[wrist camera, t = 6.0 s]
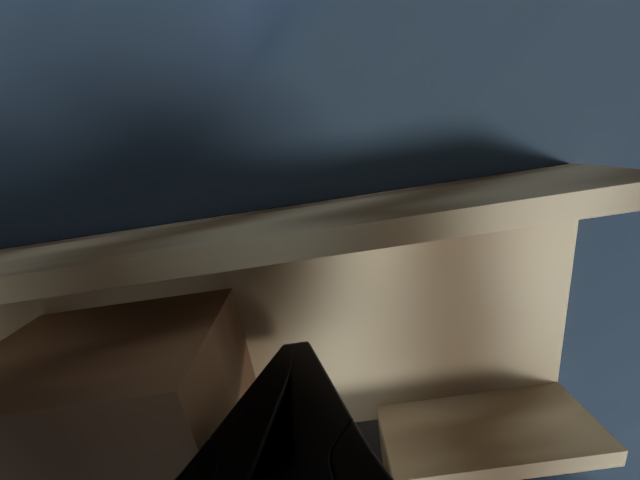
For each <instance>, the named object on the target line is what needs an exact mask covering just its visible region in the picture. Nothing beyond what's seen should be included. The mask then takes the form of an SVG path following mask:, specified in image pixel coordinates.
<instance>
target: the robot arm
mask: <svg viewBox="0 0 640 480" xmlns="http://www.w3.org/2000/svg"><path fill="white" fill-rule="evenodd" d="M175 480H394V479H393V478H392V477H391V475H390V474H389V473H388V472H387V470H386V469H385V467H384V466H383V465H382V463H381V462H380V460H379V459H378V458H377V456H376V455H375V454H374V452H373V451H372V449H371V447H370V446H369V444H368V443H367V441H366V439H365V438H364V436H363V435H362V433H361V431H360V430H359V428H358V426H357V424H356V423H355V421H354V420H353V418H352V416H351V414H350V412H349V411H348V409H347V407H346V405H345V404H344V402H343V400H342V398H341V397H340V395H339V393H338V392H337V390H336V388H335V386H334V385H333V383H332V381H331V379H330V378H329V376H328V374H327V372H326V371H325V369H324V367H323V365H322V364H321V362H320V360H319V358H318V357H317V355H316V353H315V351H314V350H313V348H312V346H311V344H310V343H309V342H308V341H305V342H298V343H290V344H284V345H282V347H281V348H280V349H279V350H278V352H277V353H276V354H275V355H274V357H273V358H272V359H271V360H270V362H269V363H268V364H267V365H266V367H265V368H264V369H263V371H262V372H261V373H260V374H259V376H258V377H257V378H256V379H255V381H254V382H253V383H252V384H251V386H250V387H249V388H248V389H247V391H246V392H245V393H244V394H243V396H242V397H241V398H240V400H239V401H238V402H237V403H236V405H235V406H234V407H233V408H232V410H231V411H230V412H229V413H228V415H227V416H226V417H225V418H224V420H223V421H222V422H221V424H220V425H219V426H218V427H217V429H216V430H215V431H214V432H213V434H212V435H211V436H210V439H208V440H207V441H206V442H205V444H204V445H203V446H202V447H201V449H200V450H199V451H198V452H197V454H196V455H195V456H194V457H193V458H192V460H191V461H190V462H189V463H188V464H187V466H186V467H185V468H184V469H183V470H182V472H181V473H180V474H179V475H178V476H177V477H176V479H175Z"/></svg>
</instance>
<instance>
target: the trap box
mask: <svg viewBox="0 0 640 480" xmlns="http://www.w3.org/2000/svg"><path fill="white" fill-rule="evenodd" d="M635 211H640V169H631V168H619V167H607V166H595V165H583V164H564V165H558V166H551V167H544V168H538V169H531V170H524V171H518V172H511V173H504V174H498V175H491V176H485V177H478V178H471V179H465V180H458V181H451V182H445V183H438V184H431V185H425V186H418V187H411V188H405V189H398V190H391V191H385V192H378V193H371V194H365V195H358V196H351V197H345V198H338V199H331V200H325V201H318V202H311V203H305V204H298V205H291V206H285V207H278V208H271V209H265V210H258V211H251V212H245V213H238V214H231V215H225V216H218V217H212V218H205V219H198V220H192V221H185V222H178V223H172V224H165V225H158V226H152V227H145V228H138V229H132V230H125V231H118V232H112V233H105V234H98V235H92V236H85V237H78V238H72V239H65V240H58V241H52V242H45V243H38V244H32V245H25V246H18V247H12V248H5V249H0V341H1V340H3V339H4V338H6V337H8V336H9V335H11V334H12V333H14V332H15V331H17V330H18V329H20V328H22V327H23V326H25V325H26V324H28V323H29V322H31V321H32V320H34V319H36V318H37V317H39V316H40V315H45V314H52V313H59V312H66V311H73V310H80V309H87V308H94V307H101V306H108V305H115V304H122V303H129V302H137V301H144V300H151V299H158V298H165V297H172V296H179V295H186V294H193V293H200V292H207V291H214V290H221V289H228V288H232V289H233V293H234V296H235V300H236V304H237V308H238V312H239V316H240V319H241V323H242V327H243V331H244V335H245V339H246V343H247V346H248V350H249V354H250V358H251V362H252V366H253V370H254V373H255V377H256V378H257V377H258V376H259V374H260V373H261V372H262V371H263V369H264V368H265V367H266V365H267V364H268V363H269V362H270V360H271V359H272V358H273V357H274V355H275V354H276V353H277V352H278V350H279V349H280V348H281V347H282V345H284V344H290V343H298V342H305V341H308V342H309V343H310V344H311V346H312V348H313V350H314V351H315V353H316V355H317V357H318V358H319V360H320V362H321V364H322V365H323V367H324V369H325V371H326V372H327V374H328V376H329V378H330V379H331V381H332V383H333V385H334V386H335V388H336V390H337V392H338V393H339V395H340V397H341V398H342V400H343V402H344V404H345V405H346V407H347V409H348V411H349V412H350V414H351V416H352V418H353V420H354V421H355V423H356V424H357V426H358V428H359V430H360V431H361V433H362V435H363V436H364V438H365V439H366V441H367V443H368V444H369V446H370V447H371V449H372V451H373V452H374V454H375V455H376V456H377V458H378V459H379V460H380V462H381V463H382V465H383V466H384V467H385V469H386V470H387V472H388V473H389V474H390V475H391V477H392V478H393V479H394V480H523V479H530V478H538V477H545V476H553V475H561V474H568V473H576V472H584V471H591V470H599V469H607V468H614V467H622V466H625V462H626V458H627V454H628V450H627V449H626V448H625V447H624V446H623V445H622V444H621V443H620V442H619V441H618V440H617V439H616V438H614V437H613V436H612V435H611V434H610V433H609V432H608V431H607V430H606V429H605V428H604V427H603V426H602V425H601V424H600V423H599V422H598V421H597V420H596V419H595V418H594V417H593V416H592V415H591V414H590V413H589V412H588V411H587V410H586V409H585V408H584V407H583V406H582V405H581V404H580V403H579V402H578V401H577V400H576V399H574V398H573V397H572V396H571V395H570V394H569V393H568V392H567V391H566V390H565V389H564V388H563V387H562V386H561V385H560V384H559V383H558V375H559V367H560V360H561V352H562V344H563V337H564V329H565V321H566V313H567V306H568V298H569V290H570V283H571V275H572V267H573V260H574V252H575V244H576V236H577V229H578V221H579V220H581V219H587V218H594V217H601V216H608V215H615V214H622V213H628V212H635Z"/></svg>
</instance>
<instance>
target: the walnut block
mask: <svg viewBox="0 0 640 480" xmlns="http://www.w3.org/2000/svg"><path fill="white" fill-rule="evenodd" d="M255 379H256V377H255V373H254V370H253V366H252V362H251V358H250V354H249V350H248V346H247V343H246V339H245V335H244V331H243V327H242V323H241V319H240V316H239V312H238V308H237V304H236V300H235V296H234V293H233V289H232V288H228V289H221V290H214V291H207V292H200V293H193V294H186V295H179V296H172V297H165V298H158V299H151V300H144V301H137V302H129V303H122V304H115V305H108V306H101V307H94V308H87V309H80V310H73V311H66V312H59V313H52V314H45V315H40V316H39V317H37V318H36V319H34V320H32V321H31V322H29V323H28V324H26V325H25V326H23V327H22V328H20V329H18V330H17V331H15V332H14V333H12V334H11V335H9V336H8V337H6V338H4V339H3V340H1V341H0V480H175V479H176V477H177V476H178V475H179V474H180V473H181V472H182V470H183V469H184V468H185V467H186V466H187V464H188V463H189V462H190V461H191V460H192V458H193V457H194V456H195V455H196V454H197V452H198V451H199V450H200V449H201V447H202V446H203V445H204V444H205V442H206V441H207V440H208V439H210V436H211V435H212V434H213V432H214V431H215V430H216V429H217V427H218V426H219V425H220V424H221V422H222V421H223V420H224V418H225V417H226V416H227V415H228V413H229V412H230V411H231V410H232V408H233V407H234V406H235V405H236V403H237V402H238V401H239V400H240V398H241V397H242V396H243V394H244V393H245V392H246V391H247V389H248V388H249V387H250V386H251V384H252V383H253V382H254V381H255Z"/></svg>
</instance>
